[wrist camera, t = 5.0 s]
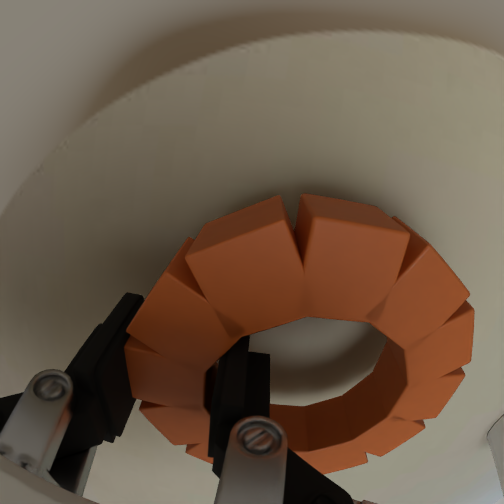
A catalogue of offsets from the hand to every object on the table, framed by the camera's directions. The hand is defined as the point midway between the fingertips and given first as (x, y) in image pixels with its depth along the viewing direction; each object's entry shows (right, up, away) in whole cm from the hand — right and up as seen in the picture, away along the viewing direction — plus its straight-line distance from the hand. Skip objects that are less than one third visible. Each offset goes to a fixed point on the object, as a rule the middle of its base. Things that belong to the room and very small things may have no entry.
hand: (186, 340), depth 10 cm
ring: (+4, 0, 0) cm, 4 cm away
